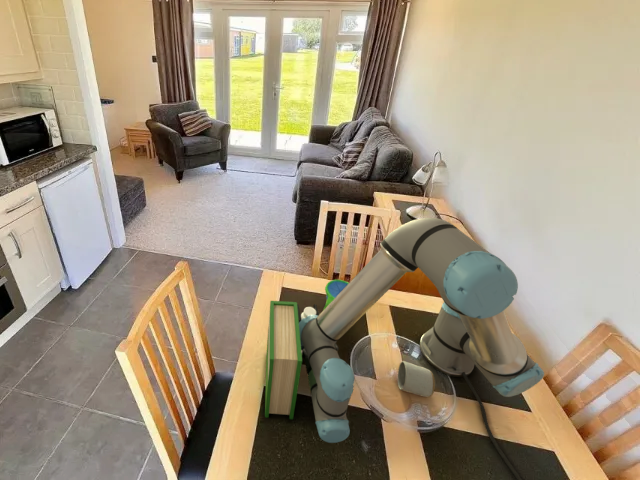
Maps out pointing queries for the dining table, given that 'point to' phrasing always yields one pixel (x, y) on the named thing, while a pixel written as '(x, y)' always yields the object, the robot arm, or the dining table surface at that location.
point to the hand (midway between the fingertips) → (305, 307)
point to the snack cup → (334, 290)
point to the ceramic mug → (415, 379)
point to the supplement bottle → (308, 312)
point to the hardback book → (282, 359)
